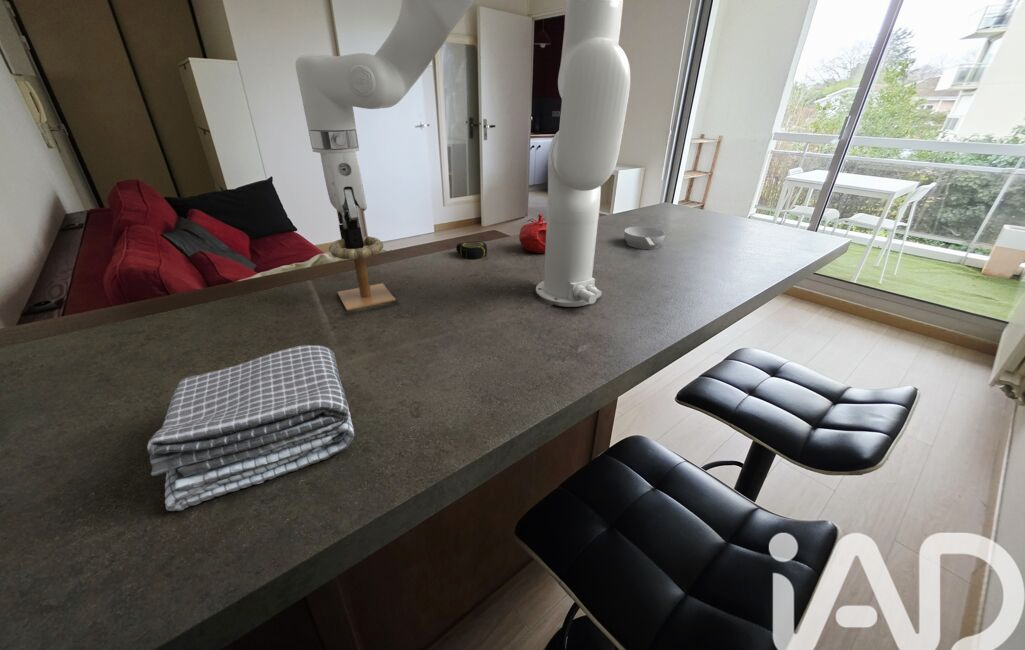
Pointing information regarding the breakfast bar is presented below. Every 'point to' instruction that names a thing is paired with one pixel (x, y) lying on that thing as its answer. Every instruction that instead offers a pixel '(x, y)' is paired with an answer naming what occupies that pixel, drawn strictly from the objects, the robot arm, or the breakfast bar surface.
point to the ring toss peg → (364, 290)
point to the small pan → (644, 237)
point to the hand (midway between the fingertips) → (353, 245)
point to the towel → (250, 424)
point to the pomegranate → (534, 235)
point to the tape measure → (472, 250)
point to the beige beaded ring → (372, 249)
